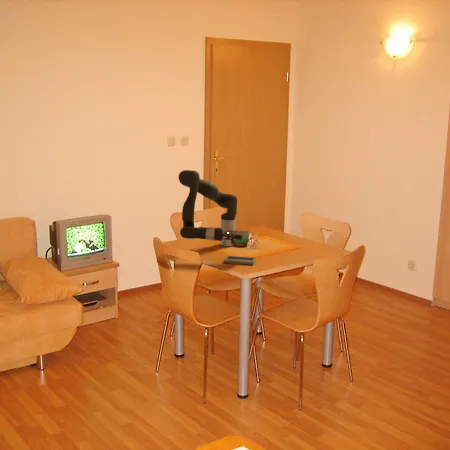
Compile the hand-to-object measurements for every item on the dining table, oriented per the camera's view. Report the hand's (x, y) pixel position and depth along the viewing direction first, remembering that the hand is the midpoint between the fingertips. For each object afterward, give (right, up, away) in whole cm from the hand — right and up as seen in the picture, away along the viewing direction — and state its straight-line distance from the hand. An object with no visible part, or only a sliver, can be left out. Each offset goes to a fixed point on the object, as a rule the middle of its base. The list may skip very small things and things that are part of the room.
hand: (242, 236), depth 356 cm
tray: (-1, -15, +4) cm, 16 cm away
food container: (-1, -7, +1) cm, 7 cm away
